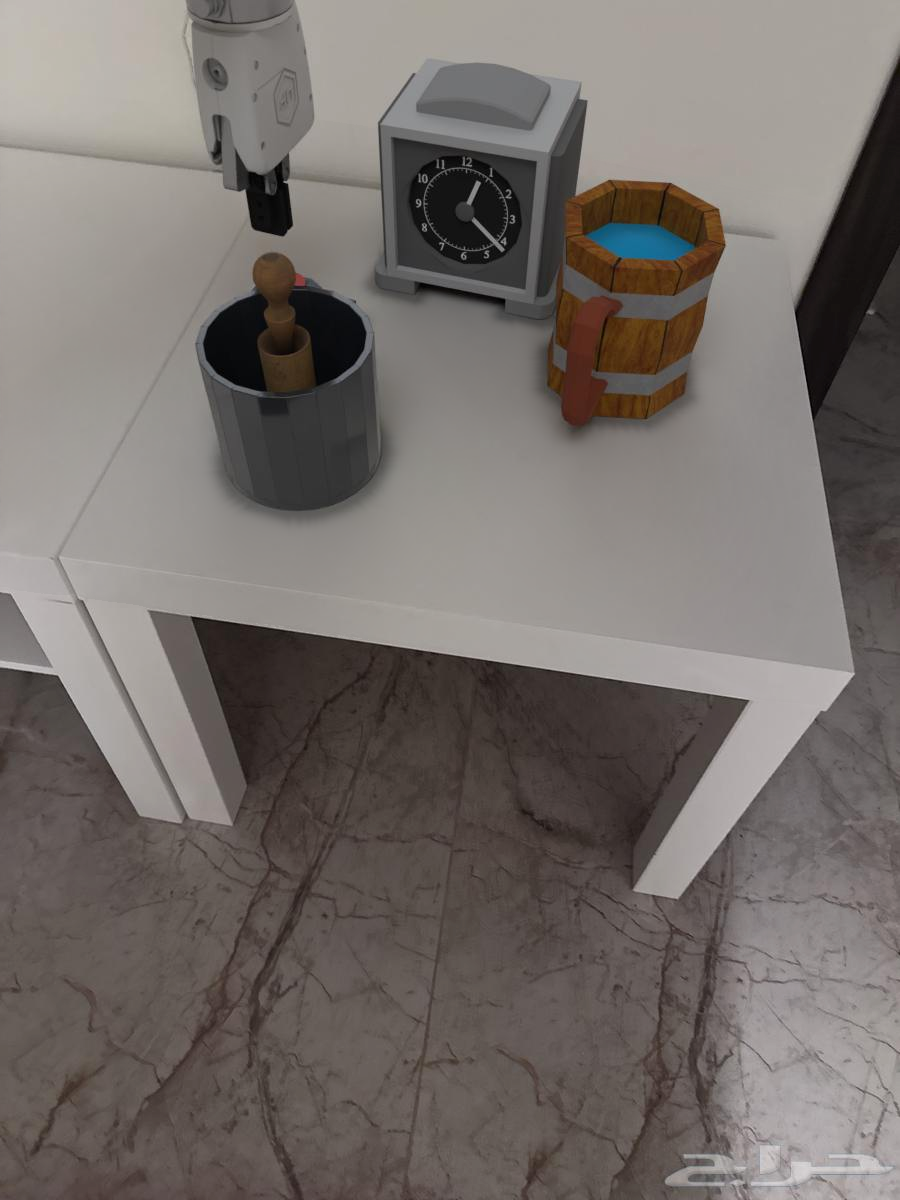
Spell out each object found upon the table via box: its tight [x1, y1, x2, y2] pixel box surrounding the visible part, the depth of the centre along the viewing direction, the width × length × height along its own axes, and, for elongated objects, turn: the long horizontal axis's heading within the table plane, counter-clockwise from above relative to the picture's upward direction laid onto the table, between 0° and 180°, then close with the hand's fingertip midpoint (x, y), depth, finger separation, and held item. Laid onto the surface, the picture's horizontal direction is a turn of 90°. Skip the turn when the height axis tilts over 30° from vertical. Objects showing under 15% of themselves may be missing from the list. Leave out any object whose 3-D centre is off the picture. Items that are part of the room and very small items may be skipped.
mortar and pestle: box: [252, 251, 316, 392], centre depth 71 cm, size 7×6×18 cm
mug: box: [546, 179, 727, 427], centre depth 78 cm, size 20×14×15 cm
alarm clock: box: [374, 57, 589, 320], centre depth 88 cm, size 18×13×18 cm
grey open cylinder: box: [194, 285, 382, 511], centre depth 74 cm, size 13×13×12 cm
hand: (272, 228), depth 79 cm, fingers closed
